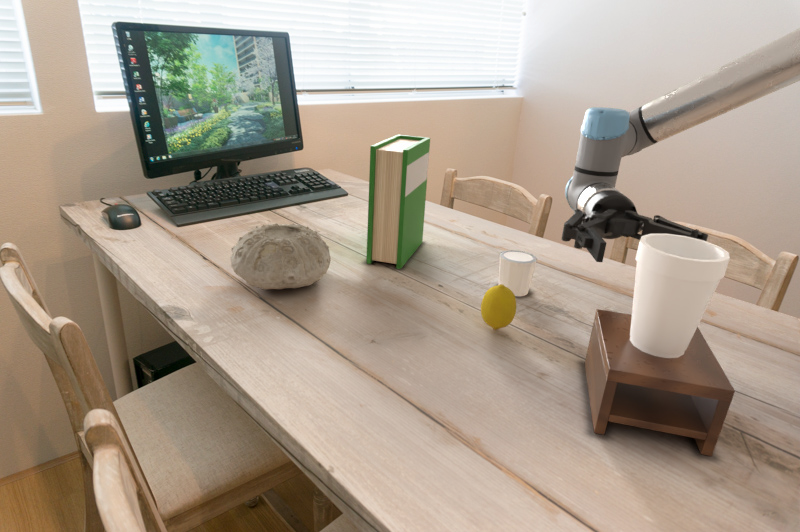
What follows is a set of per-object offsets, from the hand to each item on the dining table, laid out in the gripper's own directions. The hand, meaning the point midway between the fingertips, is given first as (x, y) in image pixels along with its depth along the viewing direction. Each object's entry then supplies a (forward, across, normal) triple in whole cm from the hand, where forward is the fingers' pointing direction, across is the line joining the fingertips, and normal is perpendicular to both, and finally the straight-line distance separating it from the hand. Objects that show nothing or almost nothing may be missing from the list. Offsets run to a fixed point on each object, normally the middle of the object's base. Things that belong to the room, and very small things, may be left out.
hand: (654, 256), depth 69 cm
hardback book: (-42, +36, -18) cm, 58 cm away
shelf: (+7, 0, -18) cm, 19 cm away
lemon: (-10, +17, -18) cm, 27 cm away
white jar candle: (-27, +12, -18) cm, 35 cm away
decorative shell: (-23, +56, -18) cm, 63 cm away
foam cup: (+7, 0, -9) cm, 12 cm away
